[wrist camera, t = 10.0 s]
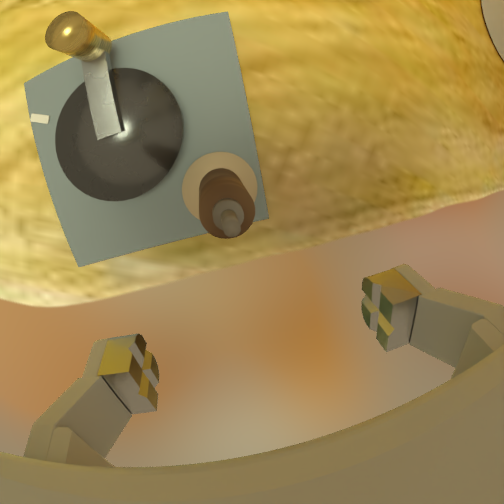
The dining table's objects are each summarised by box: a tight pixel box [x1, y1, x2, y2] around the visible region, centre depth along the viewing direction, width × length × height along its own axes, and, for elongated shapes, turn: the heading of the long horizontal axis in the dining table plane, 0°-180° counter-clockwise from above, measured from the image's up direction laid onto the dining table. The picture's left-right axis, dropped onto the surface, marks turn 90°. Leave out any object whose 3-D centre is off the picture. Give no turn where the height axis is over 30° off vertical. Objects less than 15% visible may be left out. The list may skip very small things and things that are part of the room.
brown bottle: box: [199, 168, 255, 239], centre depth 19 cm, size 3×3×9 cm
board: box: [24, 12, 269, 267], centre depth 21 cm, size 18×18×2 cm
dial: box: [45, 11, 184, 201], centre depth 16 cm, size 10×13×8 cm
